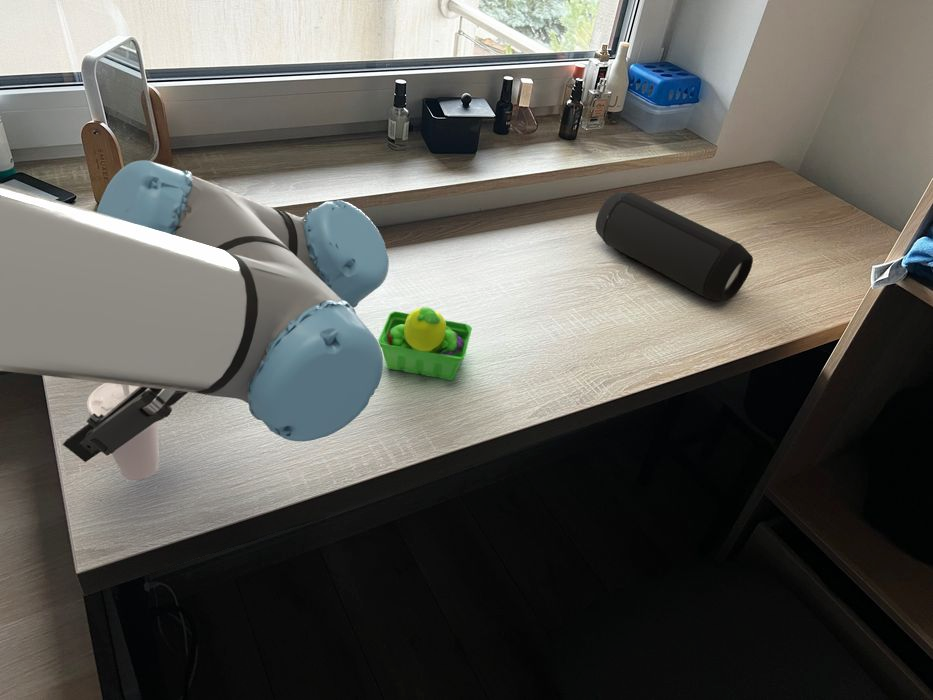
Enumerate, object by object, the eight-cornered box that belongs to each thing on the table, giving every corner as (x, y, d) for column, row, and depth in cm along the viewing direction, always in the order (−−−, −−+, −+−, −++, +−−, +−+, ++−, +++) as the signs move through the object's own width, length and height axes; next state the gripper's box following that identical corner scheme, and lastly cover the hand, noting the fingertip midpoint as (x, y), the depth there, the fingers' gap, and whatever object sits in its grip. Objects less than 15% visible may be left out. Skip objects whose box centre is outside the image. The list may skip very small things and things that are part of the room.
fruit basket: (469, 353, 101) (477, 285, 94) (459, 394, 94) (467, 325, 87) (389, 339, 101) (392, 271, 94) (373, 379, 95) (375, 309, 88)
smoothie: (186, 463, 76) (166, 360, 68) (134, 500, 72) (105, 396, 63) (145, 436, 79) (121, 333, 70) (92, 470, 74) (59, 366, 66)
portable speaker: (742, 294, 120) (763, 242, 114) (711, 315, 114) (732, 261, 108) (620, 231, 133) (633, 181, 127) (586, 246, 128) (598, 195, 122)
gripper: (216, 434, 55) (68, 523, 66) (309, 298, 70) (175, 390, 81) (139, 367, 52) (-2, 472, 64) (253, 240, 67) (122, 343, 79)
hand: (98, 425), depth 72 cm, fingers closed on smoothie, 6 cm apart
